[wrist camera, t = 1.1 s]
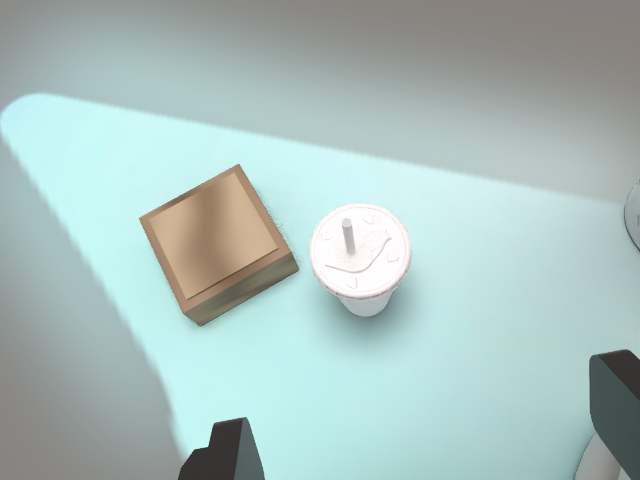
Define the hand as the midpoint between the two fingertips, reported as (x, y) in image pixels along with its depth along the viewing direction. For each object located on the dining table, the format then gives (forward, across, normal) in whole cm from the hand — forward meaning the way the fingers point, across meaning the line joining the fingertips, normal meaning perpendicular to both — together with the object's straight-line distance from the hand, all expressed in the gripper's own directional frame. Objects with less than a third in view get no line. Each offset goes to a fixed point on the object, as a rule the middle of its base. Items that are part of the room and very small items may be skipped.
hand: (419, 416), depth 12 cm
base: (+31, +10, +7) cm, 34 cm away
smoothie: (+27, 0, +11) cm, 30 cm away
